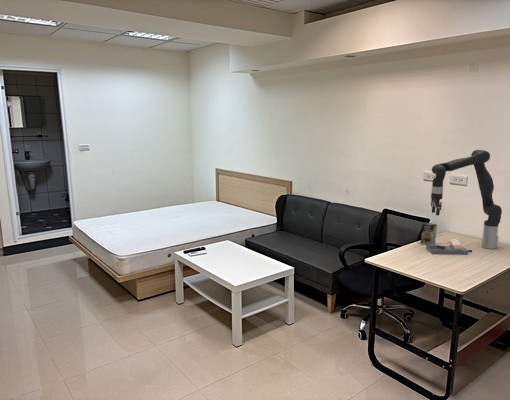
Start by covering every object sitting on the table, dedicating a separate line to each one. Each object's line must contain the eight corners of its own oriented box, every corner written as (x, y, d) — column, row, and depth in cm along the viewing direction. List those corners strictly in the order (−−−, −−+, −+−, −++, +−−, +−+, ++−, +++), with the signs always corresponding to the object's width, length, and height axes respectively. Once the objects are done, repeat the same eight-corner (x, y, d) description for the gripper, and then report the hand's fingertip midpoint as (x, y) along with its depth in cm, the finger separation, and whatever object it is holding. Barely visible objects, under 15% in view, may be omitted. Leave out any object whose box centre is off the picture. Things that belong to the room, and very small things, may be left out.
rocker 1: (443, 245, 287) (443, 242, 287) (449, 246, 277) (448, 242, 277) (434, 245, 287) (434, 242, 287) (440, 246, 277) (440, 242, 277)
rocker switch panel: (467, 249, 287) (468, 244, 287) (475, 254, 276) (476, 249, 275) (426, 248, 289) (426, 243, 289) (432, 254, 278) (432, 248, 277)
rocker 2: (457, 241, 286) (457, 239, 285) (462, 249, 277) (463, 246, 276) (448, 241, 286) (449, 239, 285) (454, 249, 277) (454, 246, 276)
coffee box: (420, 243, 302) (421, 223, 299) (423, 241, 306) (425, 222, 303) (432, 246, 295) (433, 225, 292) (435, 244, 300) (437, 224, 296)
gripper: (446, 194, 273) (444, 216, 277) (438, 190, 287) (437, 211, 291) (435, 194, 274) (433, 216, 277) (428, 190, 288) (426, 211, 291)
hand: (435, 214), depth 284 cm, fingers open, 8 cm apart
